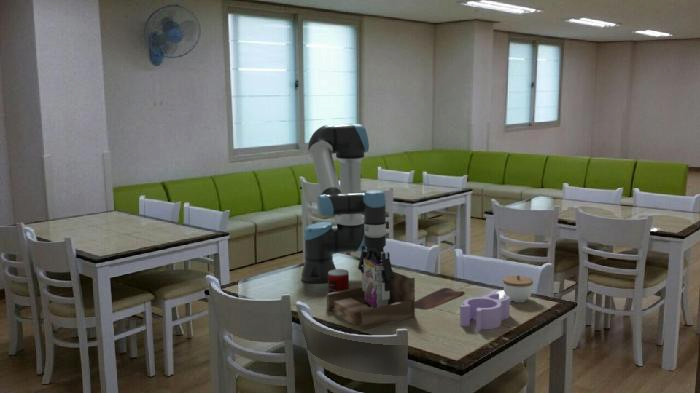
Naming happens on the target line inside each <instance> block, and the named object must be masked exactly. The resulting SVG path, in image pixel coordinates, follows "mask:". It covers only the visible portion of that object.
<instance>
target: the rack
mask: <svg viewBox="0 0 700 393" xmlns="http://www.w3.org/2000/svg"><path fill="white" fill-rule="evenodd" d="M392 272H393V276H394V281H390V299H388V305H384V306H380V307H375V308H373V307H372V308H371V307H370V308H371V309H367V310H363V311H361V324H360V325H361V326H360V327H361V329H362V330H367V329H372V328H376V327H379V326H382V325H386V324H391V323H394V322H399V321H402V320H406V319H410V318H415V316H416V308H415V301H416V298H415V297H416V296H415V295H416V293H415V292H416V290H415V289H416V287H415V286H416V285H415V284H416V282H415V281H416V280H415V278H416V277H414V276H412V275H409V274H406V273H404V272H401V271H399V270H395V269H393V268H392ZM390 278H391V277H390ZM349 298H352V299H354V300H356V301H358V302H360V303H362V304H365V303H366V304H367V302H366V301H364V291H363V289H362V285H361V286H357V287H352V288H349V289H347V290H342V291H337V292H332V293H329V292H328V293H326V310H327V311H330V310H331V311H334V310H333V309H334V301H339V300H344V299H349Z"/></svg>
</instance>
